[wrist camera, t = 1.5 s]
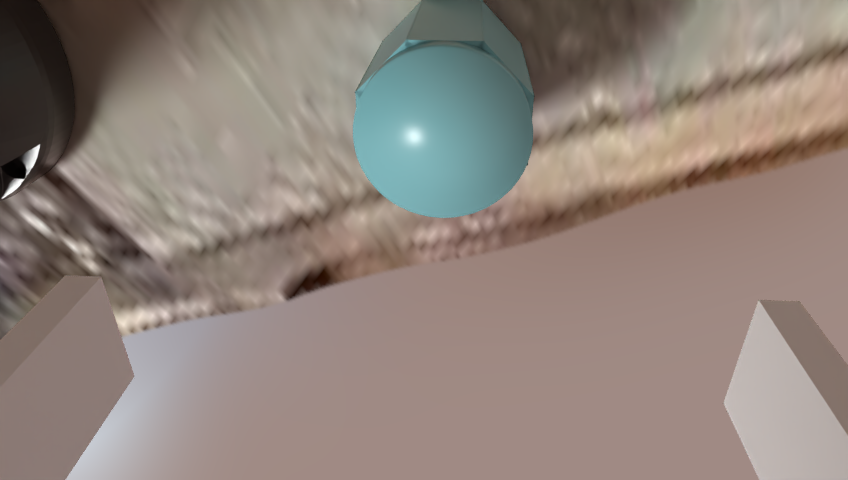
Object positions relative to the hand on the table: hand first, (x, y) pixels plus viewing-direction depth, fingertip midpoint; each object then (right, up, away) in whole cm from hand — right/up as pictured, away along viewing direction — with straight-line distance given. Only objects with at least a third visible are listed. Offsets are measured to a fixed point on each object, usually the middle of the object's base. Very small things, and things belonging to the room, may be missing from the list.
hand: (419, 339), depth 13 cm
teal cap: (+1, +10, +18) cm, 21 cm away
